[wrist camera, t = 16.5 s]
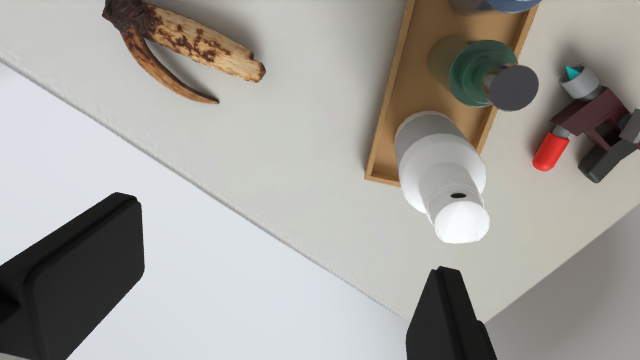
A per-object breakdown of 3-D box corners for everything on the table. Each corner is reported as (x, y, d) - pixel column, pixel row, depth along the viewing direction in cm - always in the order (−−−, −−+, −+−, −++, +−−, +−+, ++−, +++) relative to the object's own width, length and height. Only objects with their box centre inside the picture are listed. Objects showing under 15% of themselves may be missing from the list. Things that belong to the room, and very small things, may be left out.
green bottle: (435, 31, 34) (487, 36, 18) (482, 40, 34) (576, 53, 18) (421, 78, 36) (457, 121, 20) (465, 87, 36) (538, 137, 20)
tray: (424, -69, 32) (427, -75, 30) (549, -47, 31) (561, -52, 29) (364, 172, 42) (364, 179, 40) (458, 192, 41) (462, 200, 39)
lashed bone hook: (113, 59, 41) (253, 123, 41) (82, 64, 37) (238, 135, 37) (123, -26, 37) (278, 45, 37) (88, -31, 33) (264, 49, 33)
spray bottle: (457, 105, 37) (522, 170, 20) (458, 165, 39) (517, 265, 23) (391, 113, 38) (403, 180, 22) (396, 171, 41) (410, 270, 24)
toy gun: (575, 50, 34) (604, 54, 29) (647, 133, 36) (686, 149, 31) (490, 122, 38) (505, 135, 33) (560, 193, 40) (583, 215, 35)
